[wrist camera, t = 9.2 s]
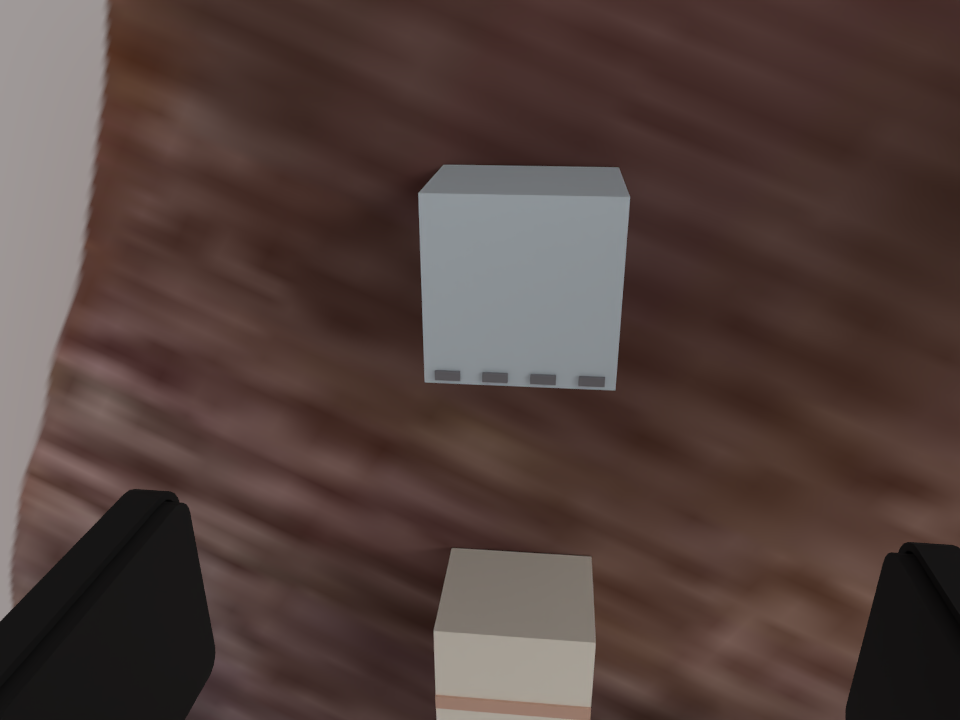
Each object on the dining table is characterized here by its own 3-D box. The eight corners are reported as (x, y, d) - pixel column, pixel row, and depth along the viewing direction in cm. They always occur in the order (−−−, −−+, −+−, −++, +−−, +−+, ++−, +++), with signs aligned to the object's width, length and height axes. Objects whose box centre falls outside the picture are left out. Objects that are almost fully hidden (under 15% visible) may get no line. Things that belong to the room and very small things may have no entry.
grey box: (618, 167, 26) (630, 197, 21) (607, 331, 28) (615, 391, 24) (443, 164, 26) (417, 193, 22) (446, 326, 29) (424, 384, 24)
